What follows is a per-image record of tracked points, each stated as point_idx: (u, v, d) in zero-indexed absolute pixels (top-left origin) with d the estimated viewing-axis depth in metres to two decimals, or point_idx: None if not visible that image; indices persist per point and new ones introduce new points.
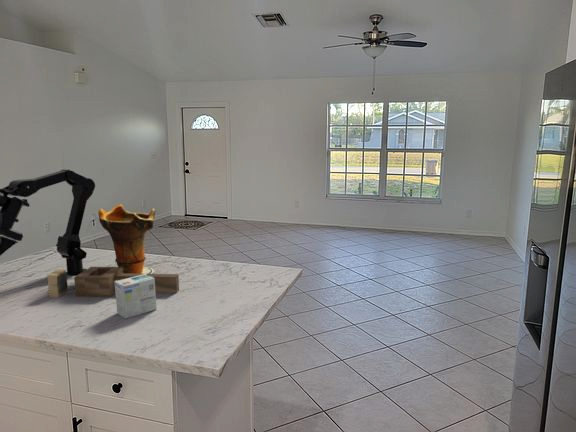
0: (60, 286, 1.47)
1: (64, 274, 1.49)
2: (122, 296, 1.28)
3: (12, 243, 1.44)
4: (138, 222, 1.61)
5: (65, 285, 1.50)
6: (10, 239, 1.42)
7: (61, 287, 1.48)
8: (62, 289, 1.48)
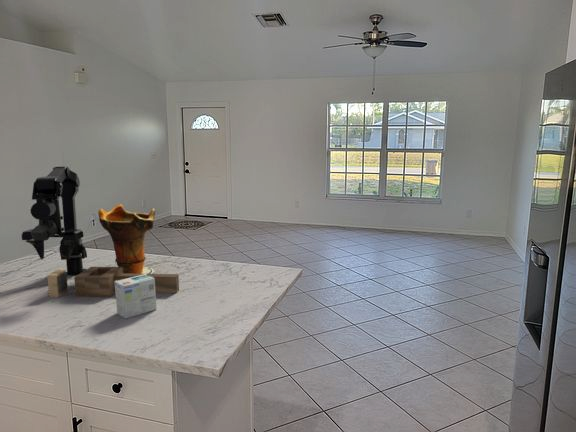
0: (60, 286, 1.47)
1: (64, 274, 1.49)
2: (122, 296, 1.28)
3: (75, 241, 1.48)
4: (138, 222, 1.61)
5: (65, 285, 1.50)
6: (76, 239, 1.46)
7: (61, 287, 1.48)
8: (62, 289, 1.48)
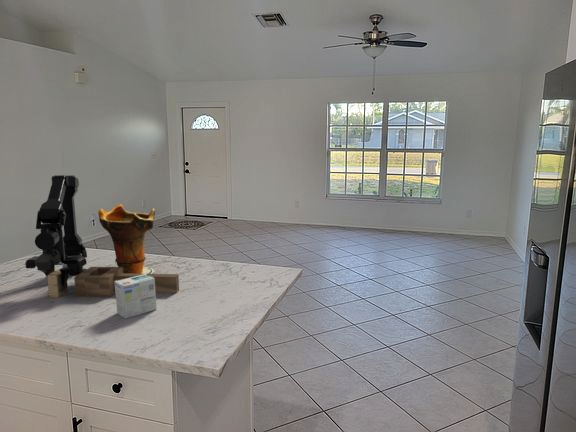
0: (60, 286, 1.47)
1: None
2: (122, 296, 1.28)
3: None
4: (138, 222, 1.61)
5: (65, 285, 1.50)
6: None
7: (61, 287, 1.48)
8: (62, 289, 1.48)
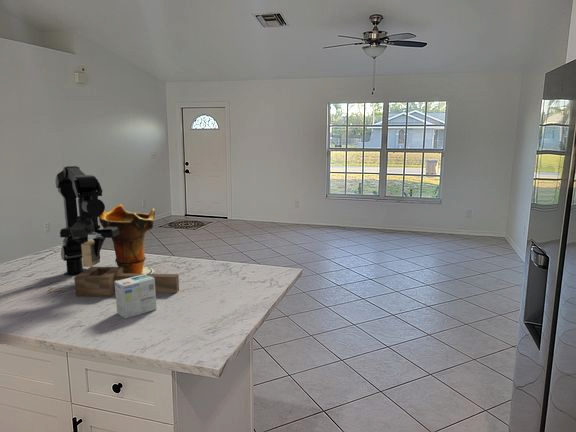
0: (93, 255, 1.48)
1: None
2: (122, 296, 1.28)
3: (104, 238, 1.51)
4: (138, 222, 1.61)
5: (98, 255, 1.51)
6: None
7: (94, 257, 1.48)
8: (95, 259, 1.49)
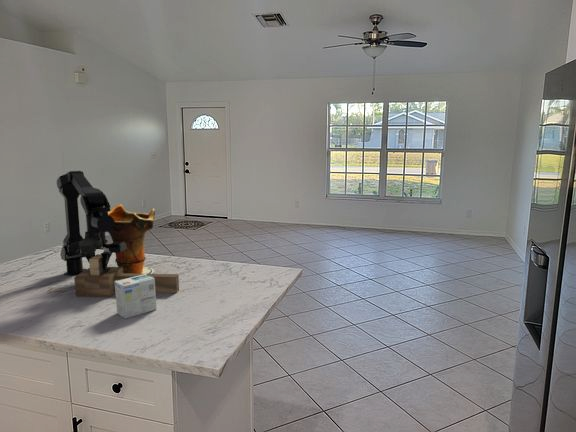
0: (101, 270, 1.50)
1: None
2: (122, 296, 1.28)
3: None
4: (138, 222, 1.61)
5: None
6: None
7: (102, 271, 1.50)
8: (103, 273, 1.51)
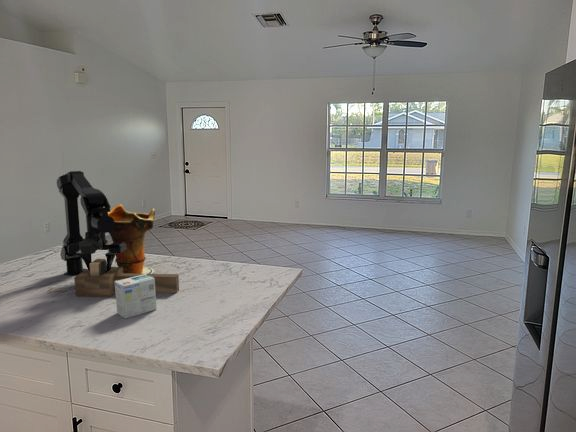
0: (101, 274, 1.50)
1: (105, 263, 1.52)
2: (122, 296, 1.28)
3: (115, 253, 1.52)
4: (138, 222, 1.61)
5: None
6: None
7: None
8: None
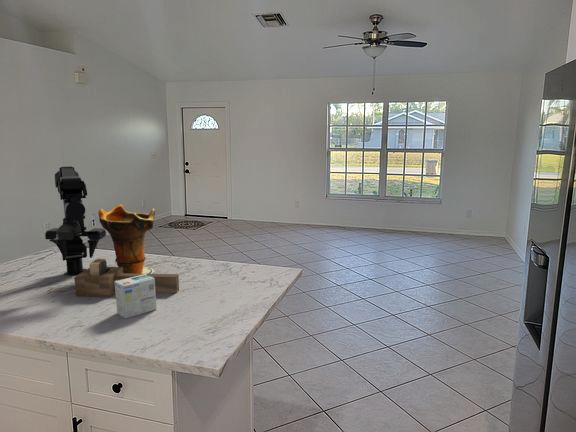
0: (101, 274, 1.50)
1: (105, 263, 1.52)
2: (122, 296, 1.28)
3: (97, 239, 1.50)
4: (138, 222, 1.61)
5: None
6: (99, 238, 1.48)
7: None
8: None
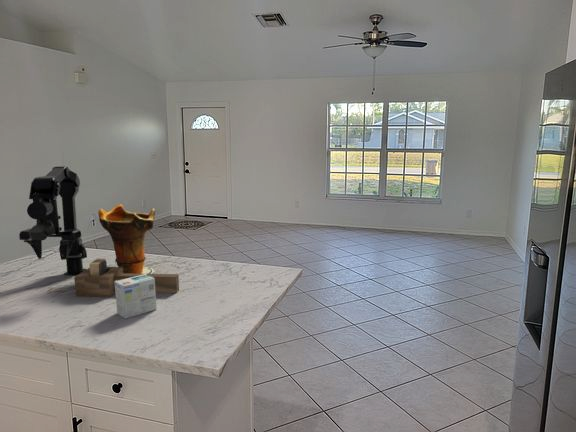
0: (101, 274, 1.50)
1: (105, 263, 1.52)
2: (122, 296, 1.28)
3: (73, 240, 1.48)
4: (138, 222, 1.61)
5: None
6: None
7: None
8: None
